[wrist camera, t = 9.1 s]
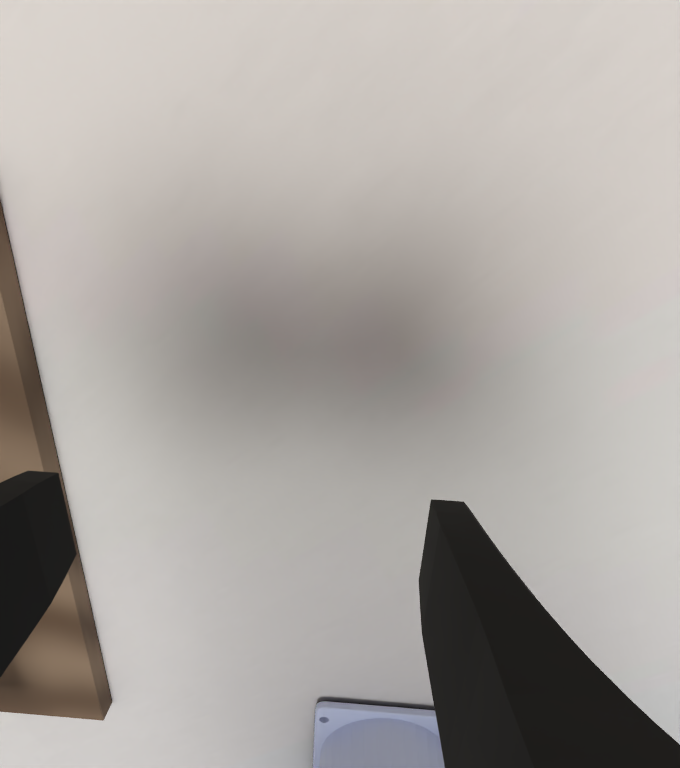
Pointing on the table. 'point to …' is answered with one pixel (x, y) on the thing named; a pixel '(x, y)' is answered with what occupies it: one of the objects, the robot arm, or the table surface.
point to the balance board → (71, 604)
